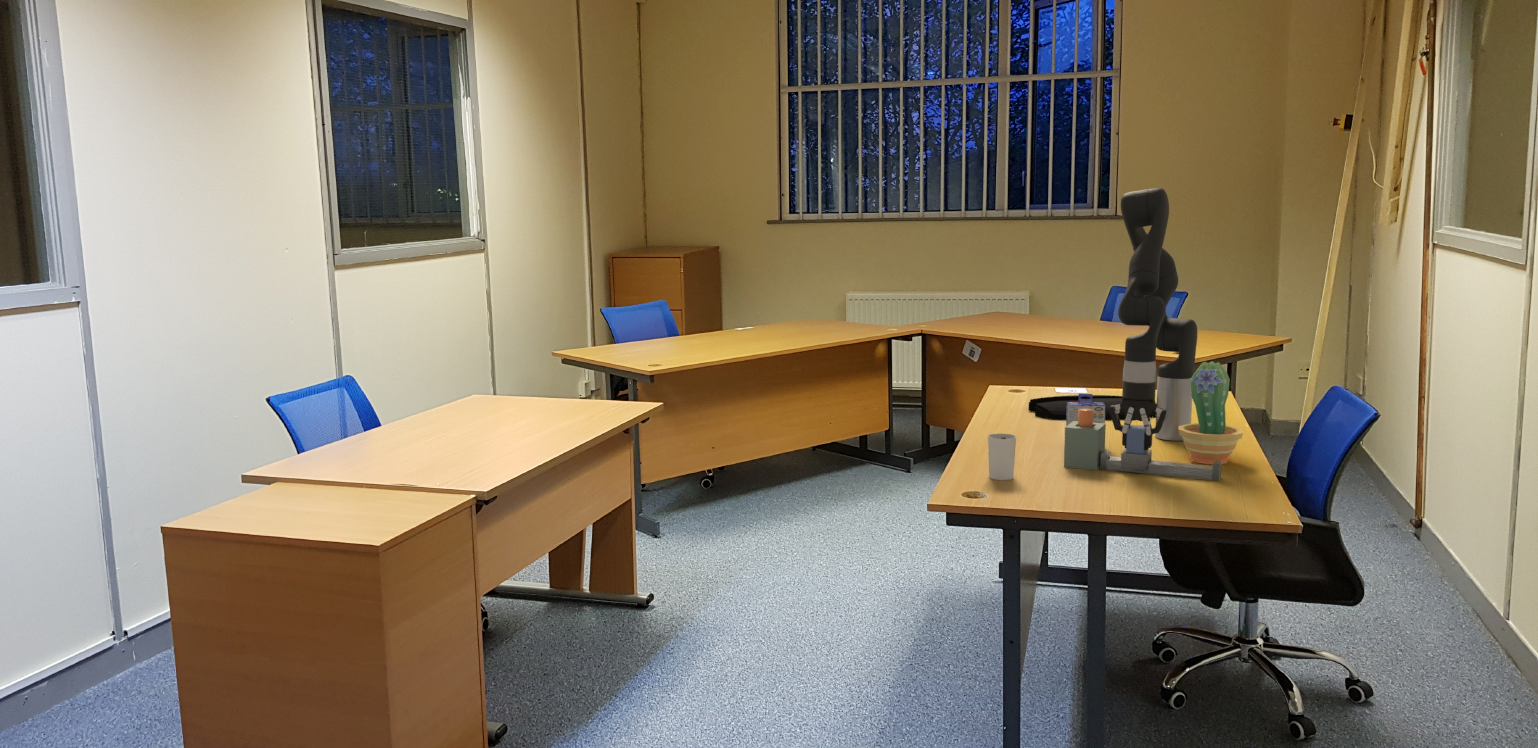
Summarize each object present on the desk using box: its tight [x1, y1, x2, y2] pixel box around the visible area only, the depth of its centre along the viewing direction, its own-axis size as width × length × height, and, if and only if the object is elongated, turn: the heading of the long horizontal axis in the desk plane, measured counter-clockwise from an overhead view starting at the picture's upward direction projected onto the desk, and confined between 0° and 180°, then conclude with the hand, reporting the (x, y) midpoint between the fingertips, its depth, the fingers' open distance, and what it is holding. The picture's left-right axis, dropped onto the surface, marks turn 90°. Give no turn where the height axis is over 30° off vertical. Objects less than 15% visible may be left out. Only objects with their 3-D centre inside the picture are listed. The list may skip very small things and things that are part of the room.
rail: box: [1099, 449, 1222, 482], centre depth 255 cm, size 4×27×4 cm, turn 61°
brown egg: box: [1078, 409, 1094, 428], centre depth 263 cm, size 4×4×6 cm
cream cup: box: [987, 432, 1017, 481], centre depth 253 cm, size 7×7×10 cm
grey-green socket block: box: [1063, 421, 1107, 471], centre depth 264 cm, size 9×8×10 cm
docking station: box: [1028, 394, 1156, 421], centre depth 332 cm, size 25×41×5 cm, turn 89°
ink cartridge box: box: [1065, 393, 1106, 427], centre depth 282 cm, size 10×6×14 cm, turn 78°
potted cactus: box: [1179, 361, 1244, 465], centre depth 266 cm, size 15×15×25 cm
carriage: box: [1120, 424, 1153, 472], centre depth 257 cm, size 7×6×10 cm
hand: (1136, 448), depth 257 cm, fingers closed on carriage, 4 cm apart
